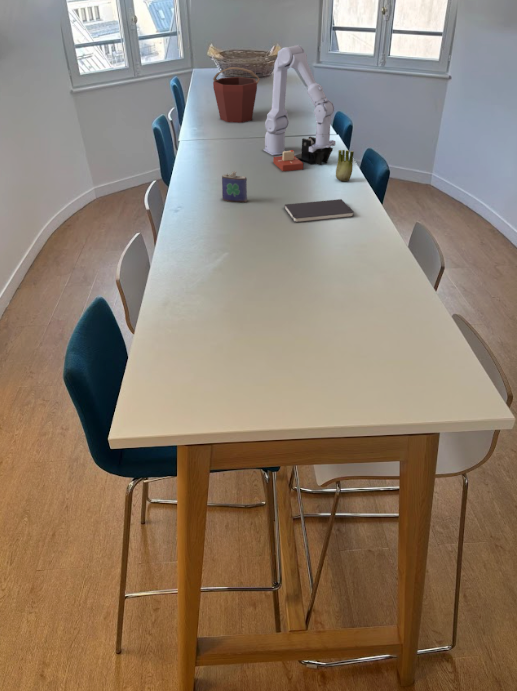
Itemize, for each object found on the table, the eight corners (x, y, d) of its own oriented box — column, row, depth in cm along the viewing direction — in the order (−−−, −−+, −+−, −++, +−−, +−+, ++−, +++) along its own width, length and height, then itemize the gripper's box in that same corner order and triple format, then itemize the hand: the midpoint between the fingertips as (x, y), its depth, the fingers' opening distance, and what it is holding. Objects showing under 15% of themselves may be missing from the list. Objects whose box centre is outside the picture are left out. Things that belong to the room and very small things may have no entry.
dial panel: (273, 162, 245) (273, 156, 243) (293, 160, 247) (293, 154, 245) (282, 171, 235) (282, 165, 234) (303, 169, 238) (303, 162, 236)
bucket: (266, 117, 308) (267, 66, 293) (244, 126, 293) (243, 73, 278) (229, 111, 319) (227, 62, 304) (205, 120, 303) (202, 68, 289)
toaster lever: (323, 161, 245) (327, 155, 242) (318, 162, 243) (322, 157, 240) (308, 142, 247) (311, 137, 244) (303, 144, 245) (306, 138, 242)
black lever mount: (325, 160, 248) (326, 139, 242) (311, 164, 243) (312, 143, 238) (306, 154, 254) (307, 134, 249) (292, 158, 249) (293, 138, 244)
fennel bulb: (352, 180, 226) (355, 150, 219) (345, 184, 223) (347, 152, 216) (340, 177, 229) (343, 147, 222) (333, 180, 226) (335, 149, 219)
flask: (247, 200, 209) (247, 171, 203) (245, 203, 207) (244, 174, 201) (223, 198, 211) (222, 169, 205) (221, 200, 209) (219, 171, 203)
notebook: (341, 203, 207) (284, 208, 203) (341, 199, 206) (284, 204, 202) (354, 216, 197) (294, 222, 193) (354, 212, 196) (294, 218, 192)
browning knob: (283, 161, 239) (283, 151, 236) (282, 159, 240) (282, 150, 238) (293, 159, 240) (294, 150, 238) (292, 158, 241) (293, 149, 239)
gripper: (318, 138, 230) (316, 171, 238) (341, 131, 238) (339, 164, 246) (305, 134, 235) (304, 168, 242) (329, 128, 243) (327, 160, 250)
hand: (321, 165), depth 245 cm, fingers closed on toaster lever, 3 cm apart
